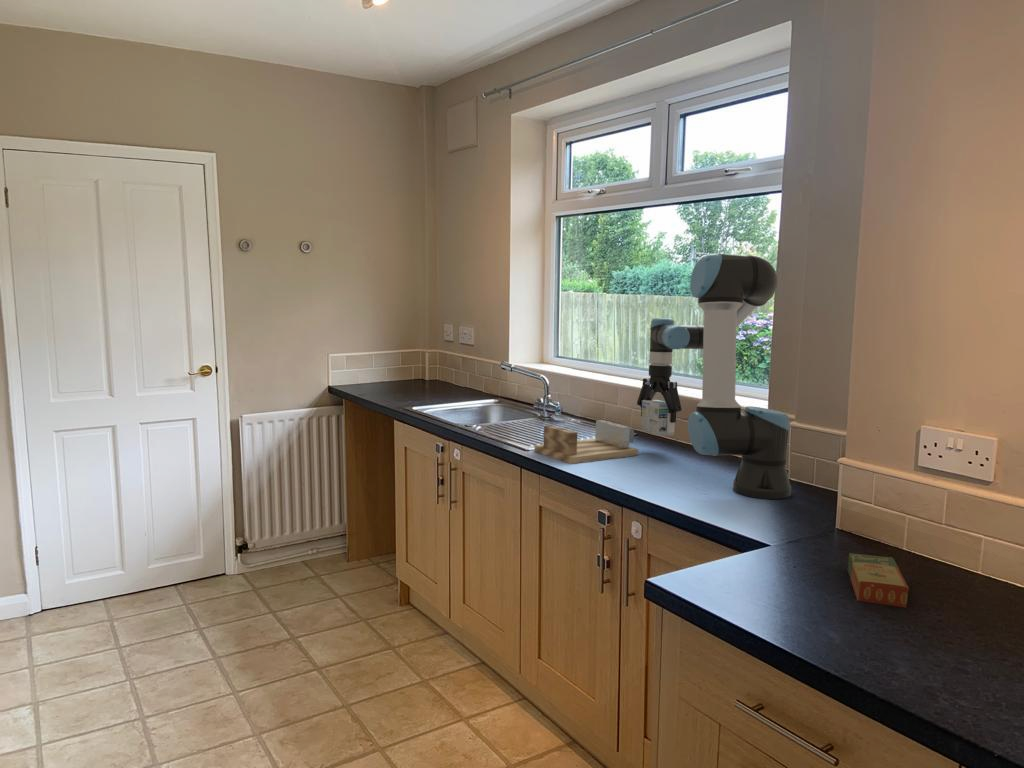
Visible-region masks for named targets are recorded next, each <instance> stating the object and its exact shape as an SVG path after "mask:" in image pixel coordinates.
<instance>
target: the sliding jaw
mask: <svg viewBox="0 0 1024 768" xmlns="http://www.w3.org/2000/svg"><path fill="white" fill-rule="evenodd" d="M634 437H635V428H634V427H630V426H629V425H628V426H627V425H623V424H621V423H620V424H619V423H615V422H612V421H608V420H604V419H601V420H600V419H599V420H596V421H595V437H594V439H595V441H599V442H602V443H605V444H609V445H612V446H615V447H619V448H629V447H630V444H632V443H634Z"/></svg>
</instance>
